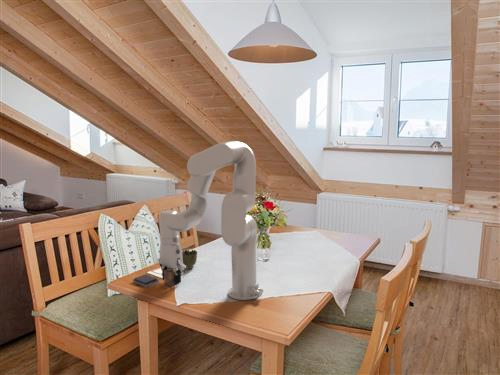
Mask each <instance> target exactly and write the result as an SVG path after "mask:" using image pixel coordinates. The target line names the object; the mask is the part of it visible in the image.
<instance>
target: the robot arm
mask: <svg viewBox="0 0 500 375" xmlns="http://www.w3.org/2000/svg"><path fill="white" fill-rule="evenodd" d="M231 165H234V171H233V176H232V190H231V191H230V192H228V193H227V194H226V195H225V196H224V197H223V199H222V201H221V203H222V204H221V209H220V210H221V212H220V213H221V215H220V216H221V219H220V220H221V221H220V222H221V224H220V226H221V227H220V229H221V230H220V231H221V237H222V241H224V243H225V244H226V245H228V246H229V247H231V284H232V286H231V288H230V289H229V290H228V293H227V294H228V296H229V297H230V298H232V299H235V300H236V301H237V300H238V301H251V300H253V299H257V298H259V297H262V295H263V293H264V289H263V288H259V287H260V286H259V283H257V237H258V225H257V221H256V219H255V218H254V217H253V216H251V215H250V214H248V213H249V212H251V211H252V210H253V209H254V207H255V204H256V188H257V187H256V184H257V183H256V175H257V173H256V172H257V160H256V157H255V154H254V151H253V150H252V149H251V148H250V147H249V146H248V145H247V144H246V143H244V142H241V141H237V140H230V141H224V142H220V143H219V142H218V143H216V144H213V145H212V146H210V147H208V148H206V149H204V150H202V151H200V152H197V153H195V154H193V155H191V157H190V158H188V161H187V163H186V168H187V171H188V173H189V175H190V177H189V179H188V181H187V184H186V189H187V191H188V192H189V193H190V194H191V200H190V202H189V205H188V206H187V209H186V210H184V211H182V212H179V213H178V211H176V210H173V209H166V210H162V211H160V212H159V214H158V215H159V216H158V217H159V221H158V222H159V234H160V235H159V237H160V245H159V258H158V259H157V262H158V263H159V266H160V268H161V270H162V277H163V279H162V280H163V281H164V270H167V269H168V267H169V268H172V269H173V270H174V273H175V275H174V284H177V285H179V284H180V283H181V282H182V275H181V273H182V272H183V271H184V269H186V266H185V265H184V264H183V256H182V252H183V250H182V246H181V243H180V236H179V235H180V234H179V232H180V233H184V232H186V231H188V230H190V229H192V228H194V227H196V226H198V225H199V224H200V223H201V221H202V219H203V216H204V214H205V212H206V209H207V206H208V193H209V190H210V187H211V184H212V182H213V180H214V177H215V174H216V171H217V170H219V169H222V168H224V167H228V166H231ZM176 269H178V271H176ZM178 283H179V284H178Z"/></svg>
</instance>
